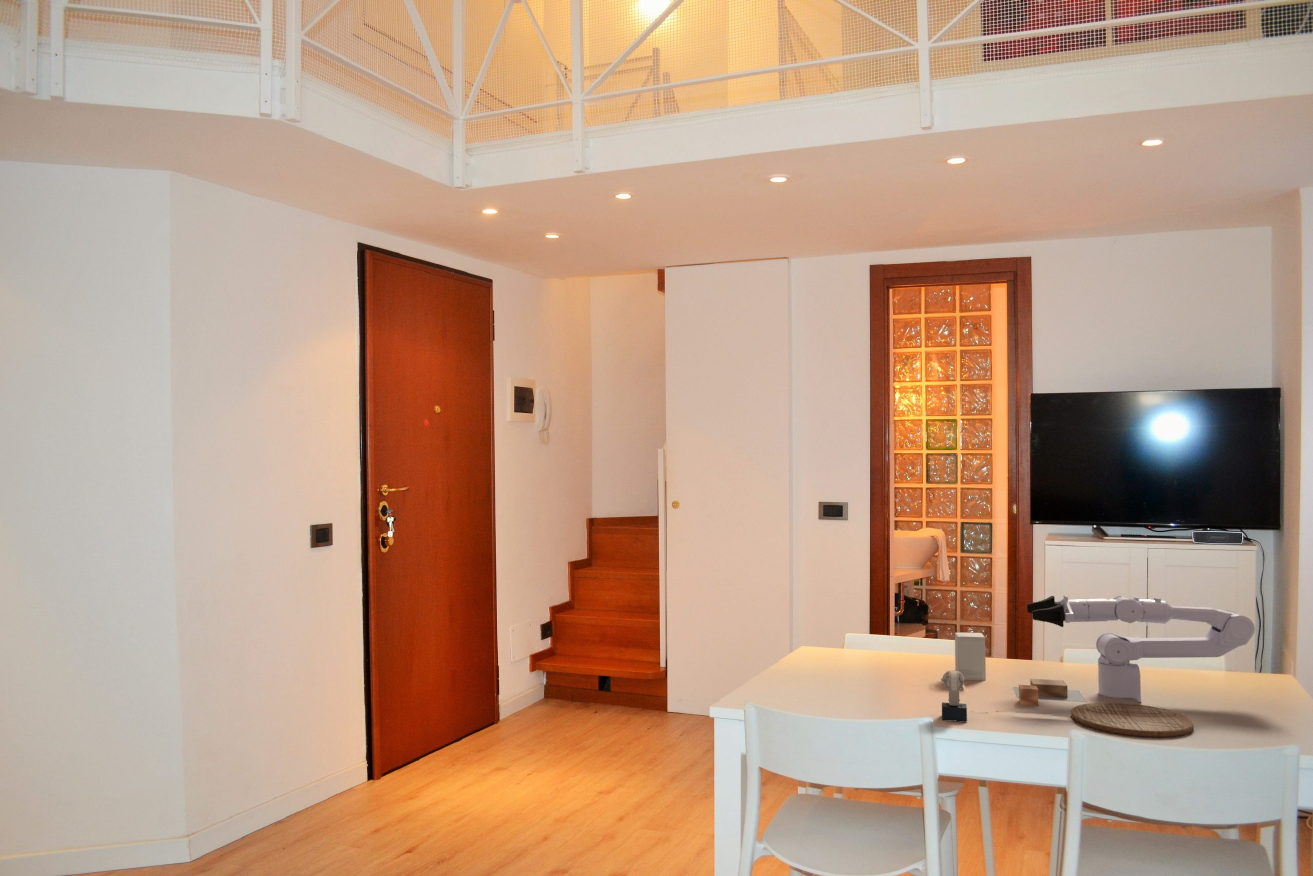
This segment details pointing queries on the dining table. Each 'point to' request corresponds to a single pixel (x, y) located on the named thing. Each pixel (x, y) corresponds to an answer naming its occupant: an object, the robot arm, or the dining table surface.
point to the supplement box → (970, 655)
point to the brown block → (1050, 688)
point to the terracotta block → (1028, 695)
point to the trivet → (1132, 720)
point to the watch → (953, 697)
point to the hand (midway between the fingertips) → (1029, 611)
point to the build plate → (1072, 696)
